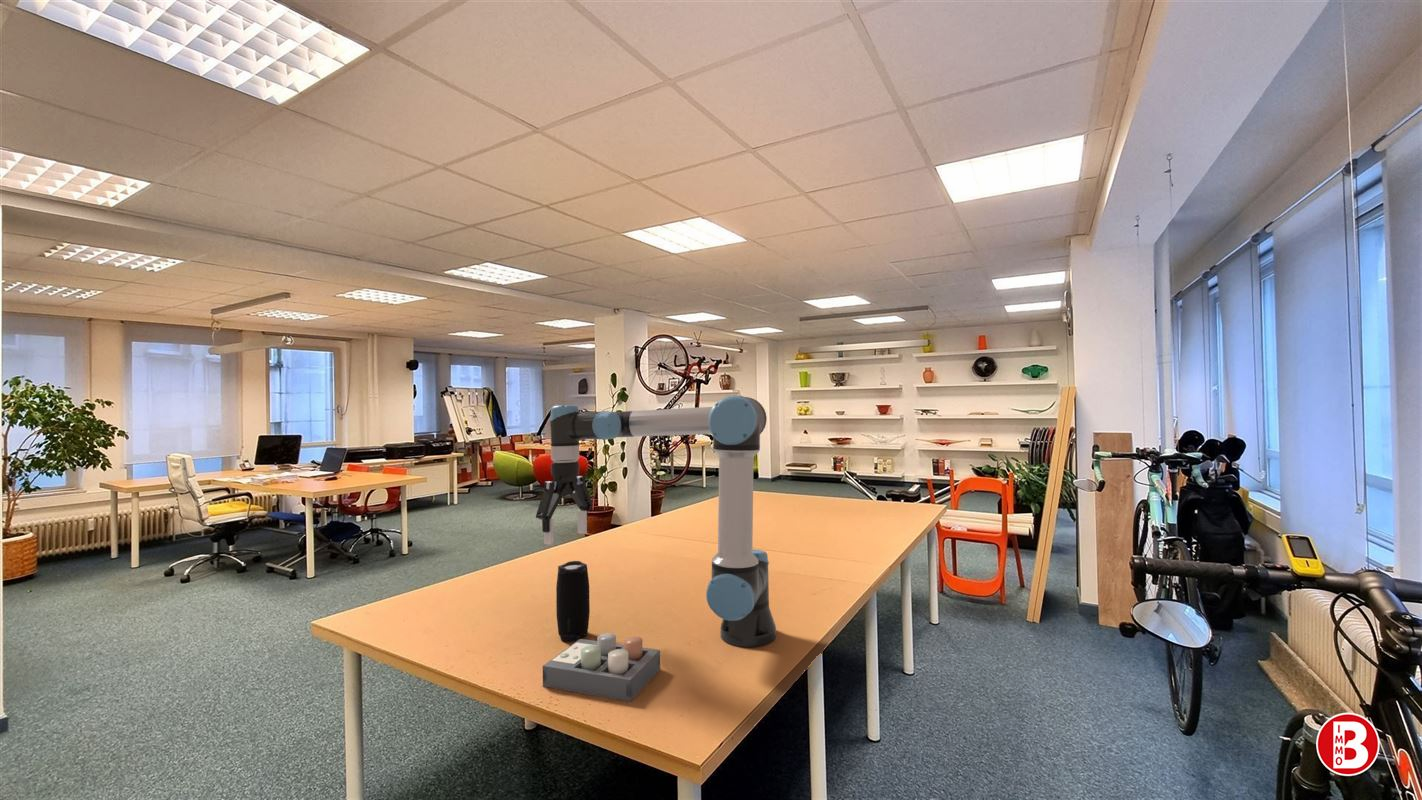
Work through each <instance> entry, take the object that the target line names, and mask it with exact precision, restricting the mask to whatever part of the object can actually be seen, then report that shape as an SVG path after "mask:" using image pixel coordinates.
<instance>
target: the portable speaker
mask: <svg viewBox="0 0 1422 800" xmlns="http://www.w3.org/2000/svg"><path fill="white" fill-rule="evenodd" d="M555 588H556V589H555V590H556V595H555V596H556V597H555V598H556V601H555V603H556V613H555V614H556V621H557V622H556V623H557V624H556V625H557V633H558V636H559V637H560V638H561V641H563V642H564V643H565V642H568V643H569V642H571V643H572V642H576V641H578V640H579V639H580V637H583V636H584V637H587V636H588V633H589V631H588V630H589V622H590V609H591V607H590V580H589V572H588V565H587V564H586V563H584V562H582V561H580V560H572V561H571V560H570V561H568V562H566V563H563V564H561V565H558V566H557V578H556V587H555Z"/></svg>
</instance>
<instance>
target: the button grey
mask: <svg viewBox="0 0 1422 800" xmlns="http://www.w3.org/2000/svg"><path fill="white" fill-rule="evenodd" d="M596 639H597V640H596V641H597V646H599V647H600V648H601V656H607V657H608V653H609V652H610V651H613V650H616V644H617V635H616V634H615V633H610V632H609V633H607V632H606V633H603V634H599V635H598V636H597V637H596Z"/></svg>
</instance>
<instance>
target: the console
mask: <svg viewBox="0 0 1422 800" xmlns="http://www.w3.org/2000/svg"><path fill="white" fill-rule="evenodd" d="M590 645H596V646H597V640H591V639H585V638H584V639H583V638H578V639H577V641H574V643H572V644H570V645H569V646H568V647H567V648H565V649H564V650H563V651H561V652H560V653H558V654H557V655H555V656H554V657H553V658H551V659H550V660H549V661H547V662H545V664H542V687H544V688H545V687H547V688H552V689H557V690H563V691H569V692H574V693H578V694H580V693H581V694H586V695H590V696H596V697H601V698H608V699H613V700H619V701H623V702H629V703H630V702H632V701H633V699H634V698H635V697H636V696H637V695H638V694H639V693H640V692H641V690H643V688H645V687H646V686H647V684H648V683H649V682H650V681H651V680H652V678H653V677H655V675H656V674H657V673H658V672H659V671H660V670H661V649H655V648H648V647H643V657H642V658H641V659H640V660H639V661H634V660H628V670H629V671H628V672H627V673H625V674H624V675H617V674H610V673H608V657H607V656H601V666H600V667H599V668H598V669H597V670H596V671H592V670H585V669H581V649H582V648H584V647H586V646H590ZM616 649H624V644H619V643H616Z"/></svg>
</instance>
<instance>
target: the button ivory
mask: <svg viewBox="0 0 1422 800" xmlns="http://www.w3.org/2000/svg"><path fill="white" fill-rule="evenodd" d="M628 671H629V670H628V651H627V650H624V649H616V650H613V651H610V652H609V653H608V673H610V674H617V675H624V674H625V673H627V672H628Z"/></svg>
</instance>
